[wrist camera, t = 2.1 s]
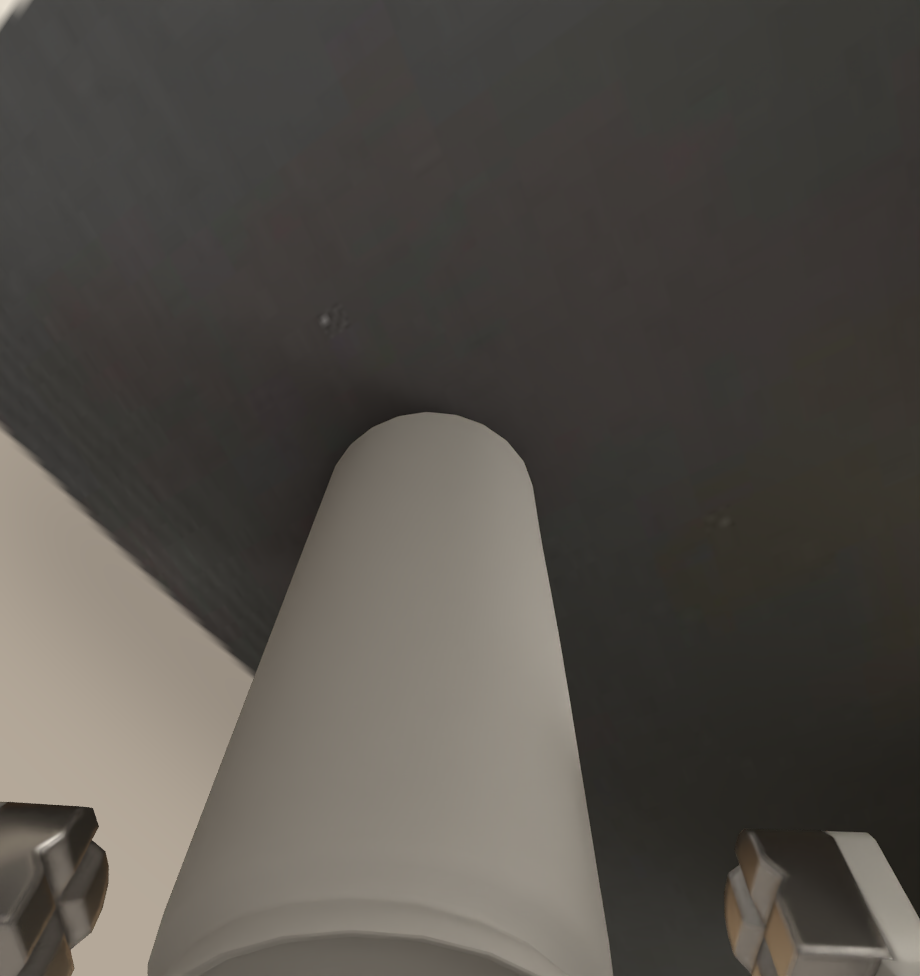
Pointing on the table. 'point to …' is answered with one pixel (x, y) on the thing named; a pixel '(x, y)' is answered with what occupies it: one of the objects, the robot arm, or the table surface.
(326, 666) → the beverage can
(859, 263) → the table surface
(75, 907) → the robot arm
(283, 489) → the table surface
